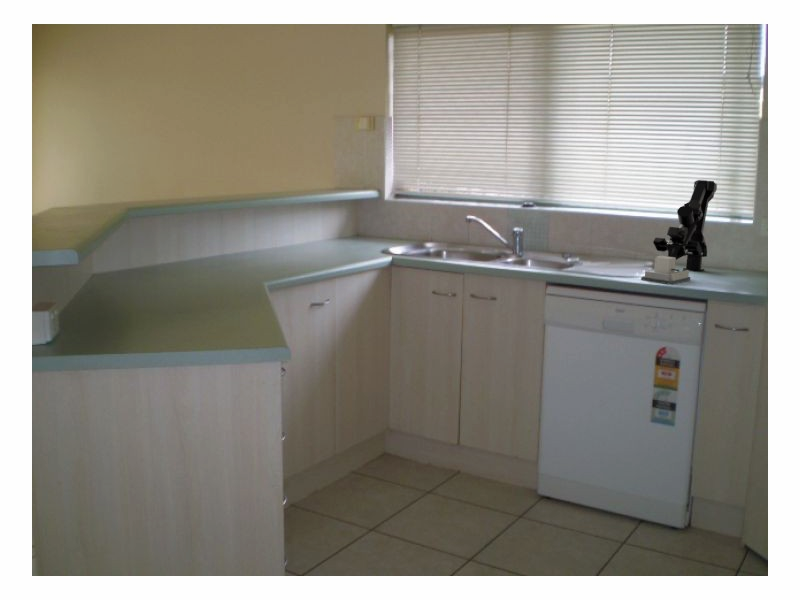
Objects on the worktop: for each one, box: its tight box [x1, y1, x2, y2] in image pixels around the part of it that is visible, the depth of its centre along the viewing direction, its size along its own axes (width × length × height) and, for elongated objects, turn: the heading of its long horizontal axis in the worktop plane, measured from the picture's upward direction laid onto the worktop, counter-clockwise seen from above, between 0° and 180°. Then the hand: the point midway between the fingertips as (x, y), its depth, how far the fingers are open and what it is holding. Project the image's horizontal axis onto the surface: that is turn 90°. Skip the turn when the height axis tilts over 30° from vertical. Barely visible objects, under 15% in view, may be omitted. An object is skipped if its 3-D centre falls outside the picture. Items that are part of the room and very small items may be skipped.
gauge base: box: [640, 269, 691, 285], centre depth 349 cm, size 14×13×4 cm
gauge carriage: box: [653, 255, 680, 274], centre depth 346 cm, size 5×9×8 cm, turn 45°
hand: (668, 263), depth 348 cm, fingers closed
